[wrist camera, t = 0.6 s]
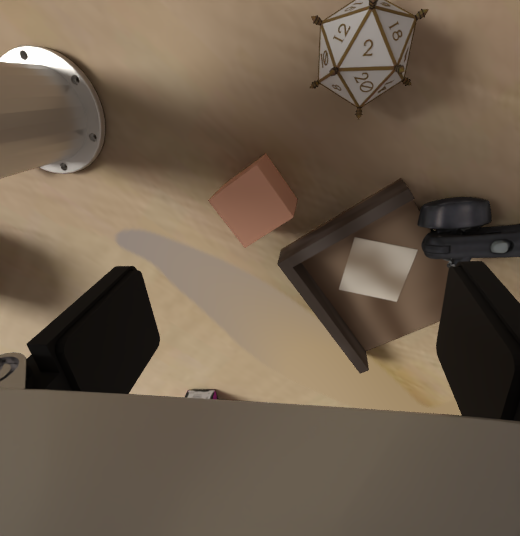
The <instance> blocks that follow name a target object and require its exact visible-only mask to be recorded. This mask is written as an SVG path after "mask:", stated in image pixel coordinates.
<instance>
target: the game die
mask: <svg viewBox="0 0 520 536" xmlns="http://www.w3.org/2000/svg"><path fill="white" fill-rule="evenodd" d="M428 10H429V9H424V10H422V9H421V11H420V12H419V11H418V13H417V14H416V15H413V14H411V13H409V12H407V11H405V10H404V9H402V8H400V7H398V6H396V5H394V4H392V3H391V2H389V1H387V0H354V1H352V2H351V3H349V4H348V5H346V6H345V7H343V8H341V9H340V10H338V11H337V12H335V13H334V14H332V15H331V16H329V17H328V18H326V19H325V20H323V21H322V20H321V19H320V18H319V17H318V15H317V16H311V18H312V20H313V23H315V24H316V25H320V42H319V68H318V80H317V81H314V82H312V84H311V86H310V88H316V87H318V85H319V84H321V85H323V86H324V87H326V88H327V89H329V90H330V91H332V92H334V93H335V94H337V95H338V96H340V97H341V98H343V99H345V100H346V101H348V102H349V103H351V104H352V105H354V106H356V107H357V111H356V114H355V115H356V116H357V118H358V119H359V118H360V116H361V115H362V109H361V108H362V107H363V106H364V105H366V104H367V103H369V102H371V101H372V100H374V99H375V98H377V97H378V96H380V95H381V94H383V93H384V92H386V91H388V90H389V89H391V88H392V87H394V86H395V85H397V84H398V83H400V82H401V81H402V82H403V84H405V86H407V85H411V82H410V79H408V78H405V73H406V68H407V63H408V59H409V54H410V49H411V44H412V40H413V35H414V30H415V25H416V21H417V20H418V19H421V18H422V17H425V15H426V13H427V11H428Z"/></svg>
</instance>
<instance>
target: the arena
mask: <svg viewBox="0 0 520 536" xmlns="http://www.w3.org/2000/svg"><path fill="white" fill-rule="evenodd" d="M413 199H414V197H413V195H412V193H411V191H410V190H409V188H408V187H407V186H406V184H405V183H404V182H403V181H402V179H401V178H400V179H399V180H397V181H395V182H394V183H392V184H390V185H388V186H387V187H385V188H383V189H382V190H380V191H378V192H377V193H375V194H373V195H372V196H370V197H368V198H367V199H365V200H363V201H362V202H360V203H358V204H357V205H355V206H353V207H352V208H350V209H348V210H347V211H345V212H343V213H341V214H340V215H338V216H336V217H335V218H333V219H331V220H330V221H328V222H326V223H325V224H323V225H321V226H320V227H318V228H316V229H315V230H313V231H311V232H310V233H308V234H306V235H305V236H303V237H301V238H299V239H298V240H296V241H294V242H293V243H291V244H289V245H288V246H286V247H284V248H283V249H281V252H280V256H279V260H278V266H279V267H280V268H281V270H282V271H283V272H284V274H285V275H286V276H287V278H288V279H289V280H290V281H291V283H292V284H293V285H294V287H295V288H296V289H297V291H298V292H299V293H300V295H301V296H302V297H303V299H304V300H305V301H306V303H307V304H308V305H309V307H310V308H311V309H312V311H313V312H314V313H315V315H316V316H317V317H318V319H319V320H320V321H321V322H322V324H323V325H324V326H325V328H326V329H327V330H328V332H329V333H330V334H331V336H332V337H333V338H334V340H335V341H336V342H337V344H338V345H339V346H340V347H341V349H342V350H343V352H344V353H345V354H346V355H347V357H348V358H349V360H350V361H351V362H352V363H353V365H354V366H355V367H356V369H357V370H358V371H359V373H362V372H365V371H368V370H369V368H368V362H367V355H366V351H368V350H370V349H372V348H375V347H377V346H380V345H382V344H385V343H387V342H389V341H392V340H394V339H397V338H399V337H402V336H404V335H407V334H409V333H411V332H414V331H416V330H419V329H421V328H424V327H426V326H429V325H431V324H433V323H436V322H438V321H440V318H441V312H442V306H443V300H444V294H445V288H446V282H447V275H448V270H449V268H448V267H447V264H448V261H446V260H443V259H431V258H428V257H426V256H425V254H424V252H423V250H422V247H421V245H422V241H423V239H424V237H425V236H426V235H427V234H428V233H430V232H431V231H430V229H429V228H424V227H419V226H418V225H417V224H418V219H419V214H420V211H419V209H418V208H417V206H416V204H415V202H414V201H413Z"/></svg>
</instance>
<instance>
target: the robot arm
mask: <svg viewBox="0 0 520 536" xmlns="http://www.w3.org/2000/svg"><path fill="white" fill-rule="evenodd" d="M104 137H105V118H104V113H103V109H102V105H101V103H100V100H99V97H98V95H97V93H96V91H95V89H94V87H93V85H92V84H91V82H90V81H89V79H88V78H87V77H86V75H85V74H84V73H83V72H82V71H81V70H80V69H79V68H78V67H77V66H76V65H75V64H74V63H73V62H72V61H71V60H69V59H68V58H67V57H65V56H64V55H62V54H60V53H58V52H56V51H54V50H52V49H48V48H44V47H41V46H31V45H26V46H18V47H16V48H13V49H11V50H9V51H8V52H6V53H5V54H4V55H3V56H1V58H0V179H1V178H4V177H7V176H11V175H14V174H17V173H21V172H24V171H27V170H31V169H34V168H38V167H39V168H41V169H43V170H46V171H49V172H53V173H61V174H66V173H73V172H76V171H79V170H82V169H84V168H85V167H87V166H89V165H90V164H91V163H92V162H93V161H94V160H95V159H96V158H97V156H98V155H99V153H100V151H101V149H102V146H103V143H104ZM159 342H160V336H159V332H158V329H157V325H156V322H155V318H154V315H153V311H152V308H151V304H150V301H149V297H148V294H147V290H146V287H145V283H144V279H143V276H142V273H141V272H140V271H139V270H137V269H136V268H135V267H134V266H116V267H114V268H113V269H112V270H111V271H110V272H108V273H107V274H106V275H105V276H104V277H103V278H102V279H100V280H99V281H98V282H97V283H96V284H95V285H94V286H92V287H91V288H90V289H89V290H88V291H87V292H86V293H84V294H83V295H82V296H81V297H80V298H79V299H78V300H76V301H75V302H74V303H73V304H72V305H71V306H70V307H68V308H67V309H66V310H65V311H64V312H63V313H62V314H60V315H59V316H58V317H57V318H56V319H55V320H53V321H52V322H51V323H50V324H49V325H48V326H47V327H45V328H44V329H43V330H42V331H41V332H40V333H39V334H37V335H36V336H35V337H34V338H33V339H32V340H31V341H29V342H28V343H27V346H28V348H29V350H30V352H31V354H32V355H31V356H30V357H28V358H27V359H26V357H25V356H24V355H23V354H21V353H14V352H13V353H5V354H2V355H0V536H520V303H519V302H518V301H517V300H516V299H515V298H514V296H513V295H512V294H511V293H510V292H509V291H508V290H507V288H506V287H505V286H504V285H503V284H502V283H501V282H500V280H499V279H498V278H497V277H496V276H495V275H494V274H493V272H492V271H491V270H490V269H489V268H488V267H487V266H486V265H485V263H484V262H482V261H465V262H458V263H457V264H456V267H450V268H449V270H448V275H447V282H446V288H445V294H444V300H443V306H442V312H441V318H440V324H439V331H438V337H437V343H436V350H437V355H438V358H439V361H440V363H441V365H442V368H443V370H444V373H445V375H446V378H447V380H448V383H449V385H450V387H451V390H452V392H453V395H454V397H455V400H456V402H457V404H458V407H459V409H460V411H461V414H462V416H459V415H448V414H434V413H433V414H432V413H419V412H404V411H389V410H373V409H359V408H344V407H329V406H314V405H297V404H281V403H265V402H249V401H234V400H218V399H201V398H184V397H168V396H152V395H136V394H129V392H130V391H131V389H132V387H133V386H134V384H135V383H136V381H137V379H138V378H139V376H140V375H141V373H142V372H143V370H144V368H145V367H146V365H147V364H148V362H149V361H150V359H151V357H152V356H153V354H154V353H155V351H156V349H157V348H158V346H159Z"/></svg>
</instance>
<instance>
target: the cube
mask: <svg viewBox="0 0 520 536" xmlns="http://www.w3.org/2000/svg"><path fill="white" fill-rule="evenodd" d="M297 200H298V199H297V198H296V196H295V195H294V193H293V192H292V190H291V189H290V188H289V186H288V185H287V183H286V182H285V180H284V179H283V177H282V176H281V174H280V173H279V171H278V170H277V169H276V167H275V166H274V164H273V163H272V161H271V160H270V158H269V157H268V155H267V154H264V155H263V156H262V157H260V158H259V159H258V160H256V161H255V162H253V163H252V164H251V165H249V166H248V167H247V168H245V169H244V170H243V171H241V172H240V173H239V174H237V175H236V176H235V177H233V178H232V179H231V180H229V181H228V182H227V183H225V184H224V185H223V186H222V187H221V188H220V189H219V190H218V191H217V192H216V193H215V194H214V195H213V196H212V197H211V198H210V199H209V200H208V201H209V202H210V204H211V205H212V206H213V208H214V209H215V210H216V211H217V213H218V214H219V215H220V217H221V218H222V219H223V220H224V222H225V223H226V224H227V226H228V227H229V228H230V229H231V231H232V232H233V233H234V235H235V236H236V237H237V238H238V240H239V241H240V242H241V243H242V245H243V246H244V247H245V248H246V247H247V246H249V245H250V244H252V243H254V242H255V241H257V240H258V239H260V238H262V237H263V236H265V235H266V234H268V233H269V232H271V231H273V230H274V229H276V228H277V227H279V226H281V225H282V224H284V223H285V222H287V221H289V220H290V219H292V218H293V217H294V213H295V209H296V204H297Z"/></svg>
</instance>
